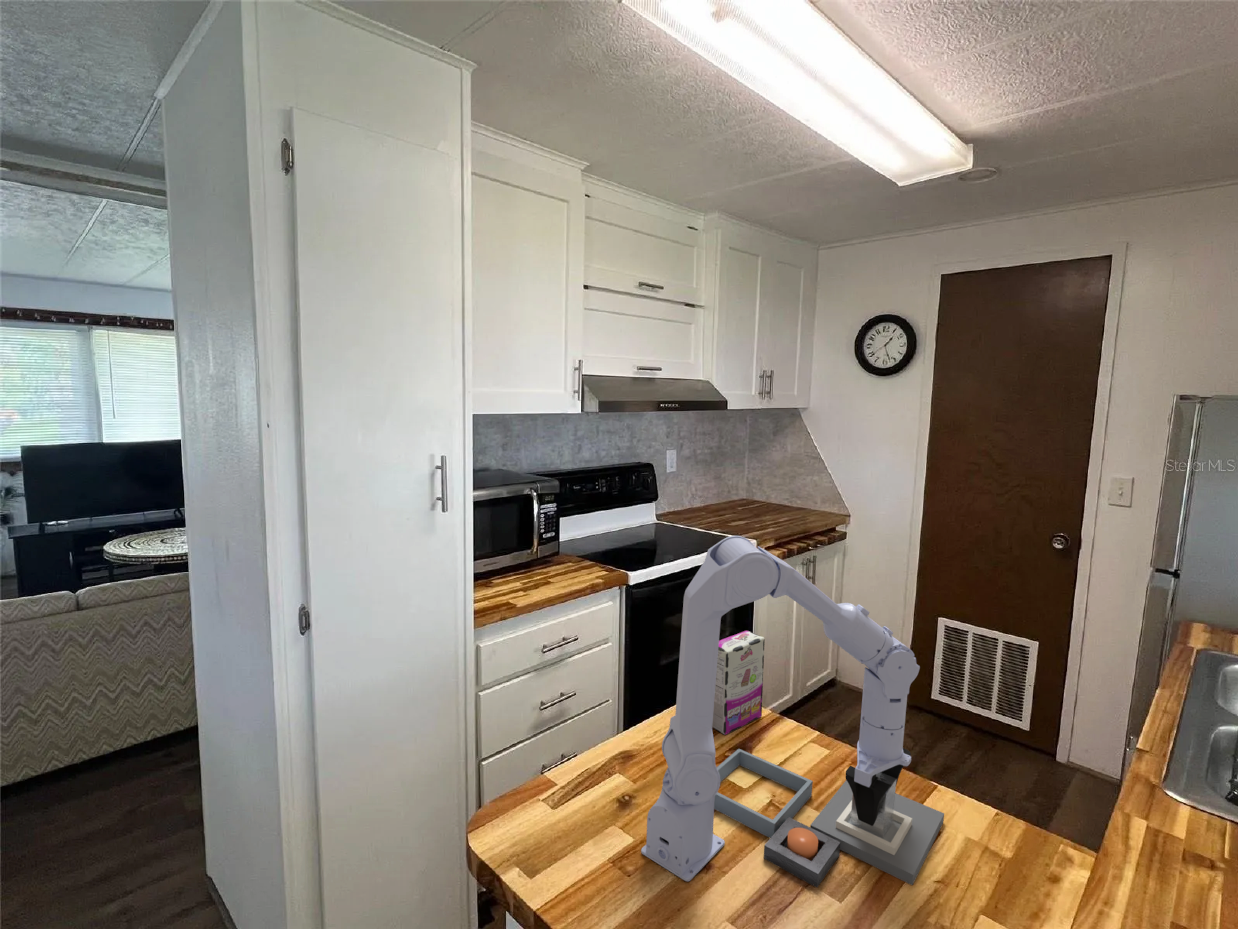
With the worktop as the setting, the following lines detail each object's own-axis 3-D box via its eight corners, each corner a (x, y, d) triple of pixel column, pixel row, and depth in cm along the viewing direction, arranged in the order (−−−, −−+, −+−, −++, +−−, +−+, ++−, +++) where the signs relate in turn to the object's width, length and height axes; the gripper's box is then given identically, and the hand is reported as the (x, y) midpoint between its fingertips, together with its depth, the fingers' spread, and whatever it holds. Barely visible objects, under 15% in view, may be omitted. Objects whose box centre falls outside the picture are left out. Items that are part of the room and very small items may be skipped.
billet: (882, 840, 87) (886, 793, 87) (850, 825, 90) (853, 780, 89) (892, 823, 91) (896, 778, 90) (861, 809, 94) (864, 766, 93)
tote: (773, 840, 89) (774, 824, 89) (695, 799, 98) (696, 784, 97) (811, 795, 99) (812, 781, 99) (738, 762, 108) (738, 748, 107)
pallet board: (912, 885, 82) (914, 868, 81) (809, 834, 90) (810, 818, 90) (943, 822, 94) (944, 807, 93) (850, 783, 103) (851, 768, 102)
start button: (809, 869, 83) (810, 853, 83) (781, 854, 86) (782, 838, 85) (821, 853, 86) (822, 837, 86) (794, 839, 89) (795, 823, 89)
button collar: (817, 888, 81) (818, 874, 80) (763, 858, 86) (764, 845, 85) (839, 855, 87) (840, 842, 86) (788, 829, 91) (788, 817, 91)
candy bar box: (742, 707, 126) (746, 629, 124) (762, 717, 123) (766, 637, 121) (704, 725, 119) (708, 642, 117) (724, 736, 116) (728, 651, 114)
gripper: (896, 752, 80) (888, 849, 82) (927, 709, 91) (919, 796, 93) (841, 731, 85) (835, 824, 86) (877, 693, 96) (870, 776, 98)
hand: (875, 808), depth 90 cm, fingers open, 7 cm apart
